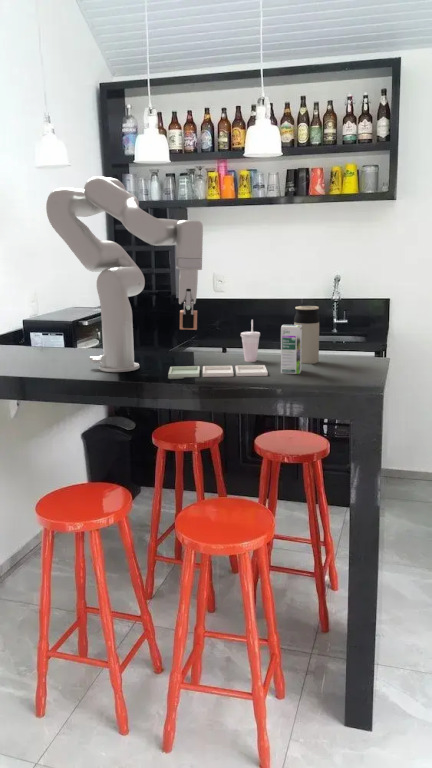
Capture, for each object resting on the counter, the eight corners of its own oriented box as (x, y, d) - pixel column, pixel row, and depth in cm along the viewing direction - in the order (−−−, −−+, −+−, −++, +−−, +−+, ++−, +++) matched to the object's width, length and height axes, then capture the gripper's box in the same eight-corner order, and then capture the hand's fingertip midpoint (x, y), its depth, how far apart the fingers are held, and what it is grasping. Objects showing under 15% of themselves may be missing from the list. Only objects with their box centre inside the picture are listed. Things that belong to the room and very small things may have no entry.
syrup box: (280, 374, 193) (280, 326, 189) (282, 371, 198) (283, 323, 195) (299, 375, 191) (300, 326, 188) (301, 371, 197) (302, 324, 194)
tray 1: (168, 378, 189) (168, 373, 189) (170, 371, 200) (170, 366, 199) (199, 378, 189) (199, 373, 189) (199, 370, 200) (199, 366, 200)
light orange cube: (179, 329, 189) (179, 312, 188) (180, 326, 194) (180, 310, 193) (196, 329, 189) (197, 312, 188) (196, 327, 194) (197, 310, 193)
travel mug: (314, 359, 216) (315, 305, 212) (321, 364, 208) (322, 307, 204) (290, 360, 215) (291, 306, 211) (297, 365, 207) (298, 308, 203)
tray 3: (236, 377, 189) (236, 372, 189) (235, 370, 200) (235, 365, 200) (267, 377, 189) (267, 372, 189) (264, 369, 200) (264, 365, 200)
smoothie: (258, 364, 209) (258, 320, 206) (239, 363, 211) (239, 320, 208) (261, 360, 216) (261, 318, 213) (242, 360, 217) (242, 318, 214)
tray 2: (202, 378, 189) (202, 373, 189) (203, 370, 200) (202, 366, 200) (233, 377, 189) (233, 372, 189) (232, 370, 200) (232, 365, 200)
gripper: (177, 262, 196) (176, 322, 200) (175, 265, 179) (174, 330, 183) (201, 262, 196) (200, 322, 200) (202, 266, 179) (201, 331, 184)
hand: (188, 325), depth 192 cm, fingers closed on light orange cube, 5 cm apart
